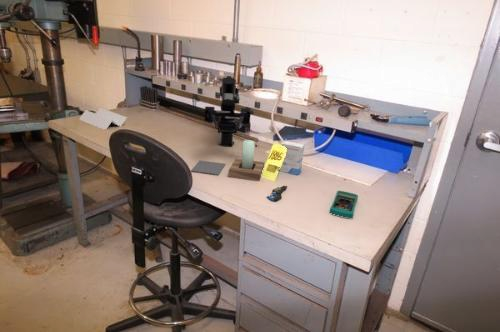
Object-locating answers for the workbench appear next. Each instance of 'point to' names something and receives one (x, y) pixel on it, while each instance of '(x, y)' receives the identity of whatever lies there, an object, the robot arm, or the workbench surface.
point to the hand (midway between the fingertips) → (227, 127)
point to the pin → (248, 154)
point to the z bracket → (102, 118)
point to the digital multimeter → (344, 204)
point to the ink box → (293, 157)
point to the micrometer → (277, 193)
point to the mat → (208, 167)
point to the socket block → (246, 170)
